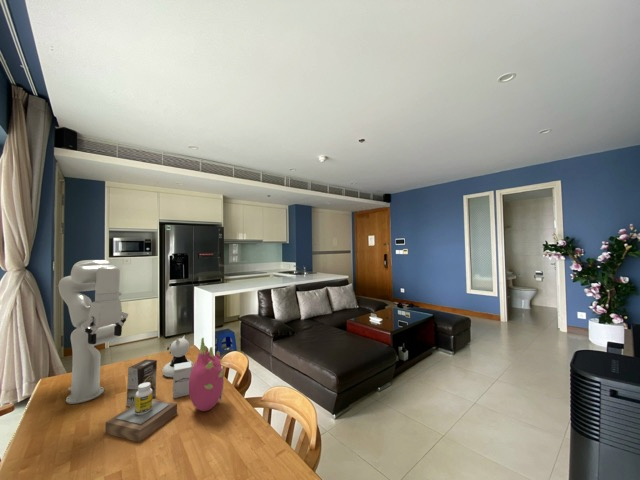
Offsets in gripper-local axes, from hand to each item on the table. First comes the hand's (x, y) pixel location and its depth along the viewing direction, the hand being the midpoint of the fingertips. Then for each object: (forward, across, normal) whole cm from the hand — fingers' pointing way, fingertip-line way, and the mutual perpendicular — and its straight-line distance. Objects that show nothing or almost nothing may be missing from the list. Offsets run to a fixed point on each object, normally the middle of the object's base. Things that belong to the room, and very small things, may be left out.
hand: (105, 339), depth 104 cm
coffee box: (+30, -12, +6) cm, 33 cm away
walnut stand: (+30, 0, +20) cm, 36 cm away
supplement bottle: (+25, -1, +20) cm, 32 cm away
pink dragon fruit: (+30, -14, +38) cm, 50 cm away
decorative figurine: (+30, -38, +1) cm, 48 cm away
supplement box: (+30, -22, +18) cm, 41 cm away
